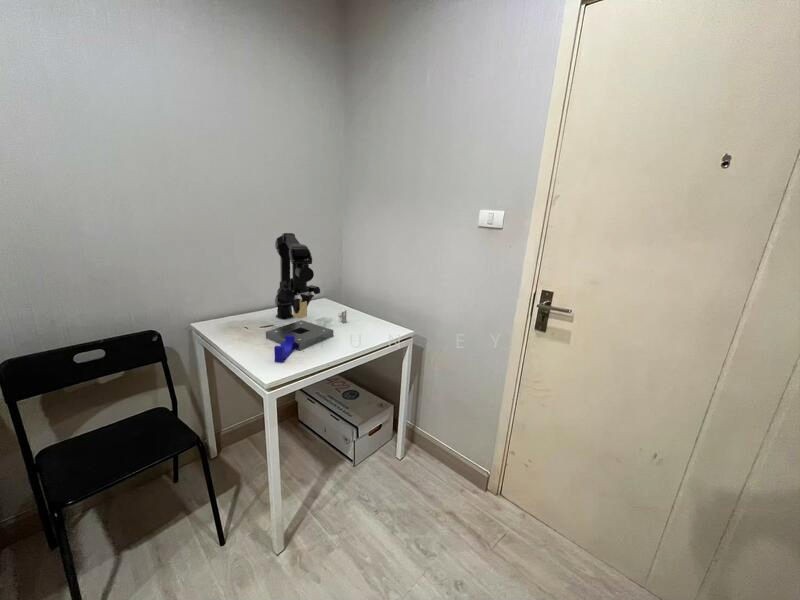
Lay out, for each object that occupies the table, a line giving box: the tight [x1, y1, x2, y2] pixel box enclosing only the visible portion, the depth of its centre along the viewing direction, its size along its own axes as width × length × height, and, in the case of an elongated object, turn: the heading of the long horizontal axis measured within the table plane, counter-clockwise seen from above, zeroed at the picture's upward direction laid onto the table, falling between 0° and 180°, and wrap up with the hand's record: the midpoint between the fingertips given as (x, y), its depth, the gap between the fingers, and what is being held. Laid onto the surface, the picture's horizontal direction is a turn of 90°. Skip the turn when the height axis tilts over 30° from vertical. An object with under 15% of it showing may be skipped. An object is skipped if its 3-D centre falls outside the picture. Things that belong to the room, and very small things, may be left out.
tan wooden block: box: [292, 298, 308, 320], centre depth 140 cm, size 4×4×7 cm
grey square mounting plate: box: [265, 319, 334, 351], centre depth 144 cm, size 20×20×3 cm
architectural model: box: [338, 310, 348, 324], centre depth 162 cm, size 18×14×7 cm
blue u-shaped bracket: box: [273, 335, 296, 364], centre depth 125 cm, size 12×4×6 cm, turn 177°
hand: (300, 312), depth 141 cm, fingers closed on tan wooden block, 4 cm apart
